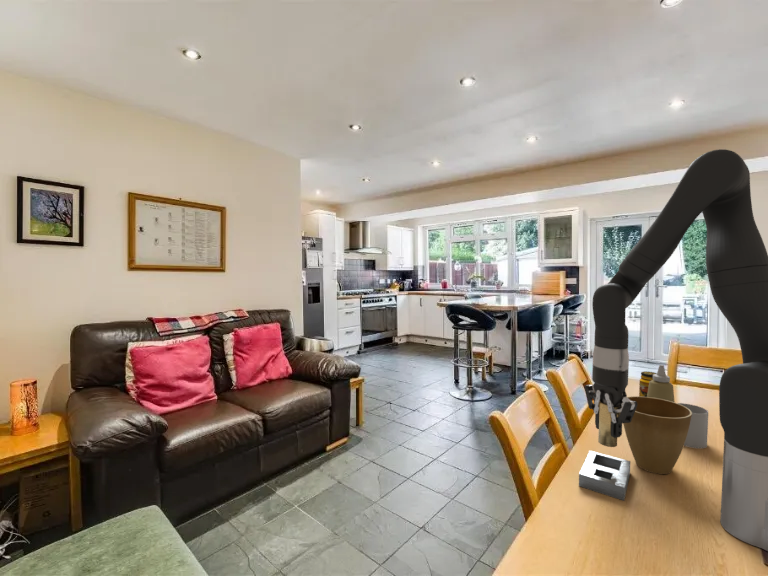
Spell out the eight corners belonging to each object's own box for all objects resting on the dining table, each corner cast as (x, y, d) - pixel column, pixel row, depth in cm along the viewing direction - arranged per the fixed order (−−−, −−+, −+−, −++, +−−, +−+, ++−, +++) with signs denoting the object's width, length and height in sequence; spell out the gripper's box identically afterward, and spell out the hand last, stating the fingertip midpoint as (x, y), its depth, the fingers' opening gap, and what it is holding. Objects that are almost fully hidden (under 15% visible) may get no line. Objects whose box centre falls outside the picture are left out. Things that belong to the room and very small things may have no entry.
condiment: (640, 406, 136) (641, 374, 135) (633, 398, 144) (634, 368, 143) (664, 409, 133) (665, 376, 133) (656, 401, 141) (657, 370, 141)
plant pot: (642, 448, 104) (644, 392, 104) (703, 475, 91) (706, 411, 90) (604, 458, 99) (606, 400, 98) (663, 488, 85) (666, 421, 84)
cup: (714, 449, 103) (715, 415, 103) (680, 447, 105) (681, 412, 104) (695, 436, 112) (696, 404, 111) (664, 434, 113) (665, 402, 113)
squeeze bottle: (646, 410, 132) (648, 361, 131) (675, 416, 127) (677, 364, 126) (644, 417, 125) (646, 365, 124) (674, 424, 120) (676, 369, 119)
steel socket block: (624, 500, 81) (624, 487, 81) (578, 486, 87) (579, 473, 86) (630, 472, 92) (630, 461, 92) (589, 461, 98) (589, 450, 97)
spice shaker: (610, 448, 89) (612, 403, 88) (594, 441, 92) (596, 397, 92) (620, 444, 90) (622, 400, 90) (604, 438, 94) (606, 395, 93)
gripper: (575, 358, 96) (574, 422, 97) (622, 374, 82) (620, 448, 83) (599, 356, 98) (597, 419, 99) (649, 371, 84) (646, 444, 85)
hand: (607, 432), depth 91 cm, fingers closed on spice shaker, 4 cm apart
